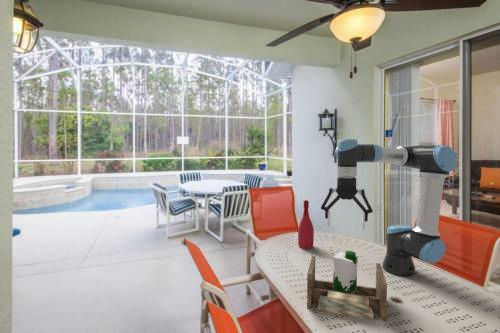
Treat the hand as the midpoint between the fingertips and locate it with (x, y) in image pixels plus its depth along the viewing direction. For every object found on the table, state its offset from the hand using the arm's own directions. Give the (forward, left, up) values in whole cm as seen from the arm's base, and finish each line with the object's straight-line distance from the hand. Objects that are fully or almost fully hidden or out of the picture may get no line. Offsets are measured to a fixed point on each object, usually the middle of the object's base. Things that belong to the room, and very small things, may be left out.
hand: (345, 227), depth 117 cm
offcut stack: (0, +10, -31) cm, 32 cm away
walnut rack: (0, +4, -30) cm, 30 cm away
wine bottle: (+23, -57, -30) cm, 69 cm away
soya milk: (0, 0, -30) cm, 30 cm away
